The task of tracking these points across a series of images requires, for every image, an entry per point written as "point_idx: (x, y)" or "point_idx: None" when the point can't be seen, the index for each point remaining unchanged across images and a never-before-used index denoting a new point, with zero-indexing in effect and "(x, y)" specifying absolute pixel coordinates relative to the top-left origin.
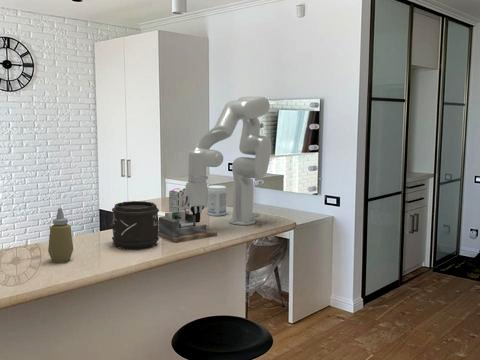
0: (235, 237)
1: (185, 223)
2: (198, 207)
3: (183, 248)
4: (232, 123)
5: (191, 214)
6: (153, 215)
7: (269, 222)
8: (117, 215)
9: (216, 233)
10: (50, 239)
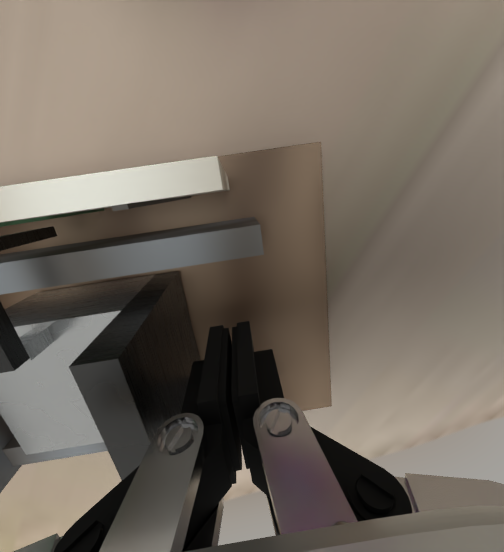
0: (384, 441)
1: (79, 437)
2: (315, 498)
3: (61, 512)
4: None
5: (139, 462)
6: None
7: None
8: None
9: (324, 401)
10: None
